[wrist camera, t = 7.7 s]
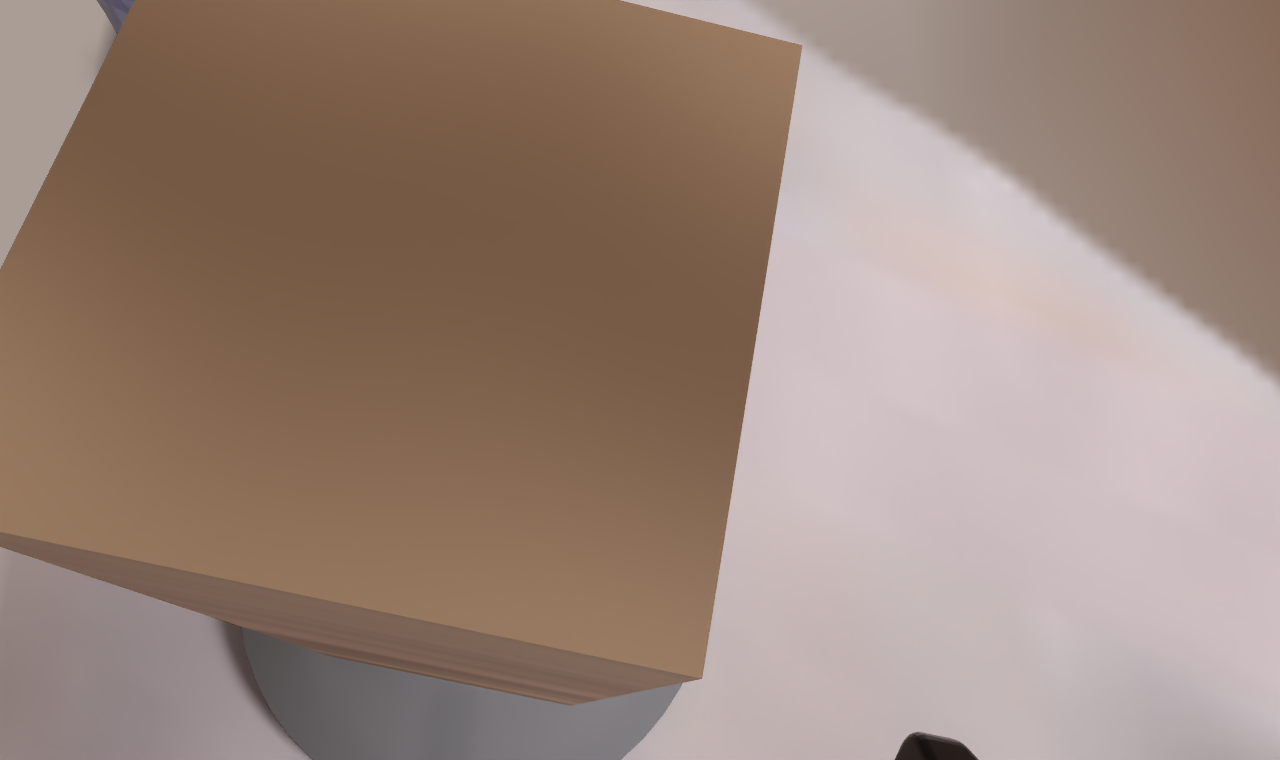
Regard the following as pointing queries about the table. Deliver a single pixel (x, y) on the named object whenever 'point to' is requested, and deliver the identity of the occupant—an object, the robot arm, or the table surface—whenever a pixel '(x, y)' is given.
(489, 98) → the walnut block
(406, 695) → the slate coaster
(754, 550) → the table surface
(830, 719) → the table surface
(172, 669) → the table surface
